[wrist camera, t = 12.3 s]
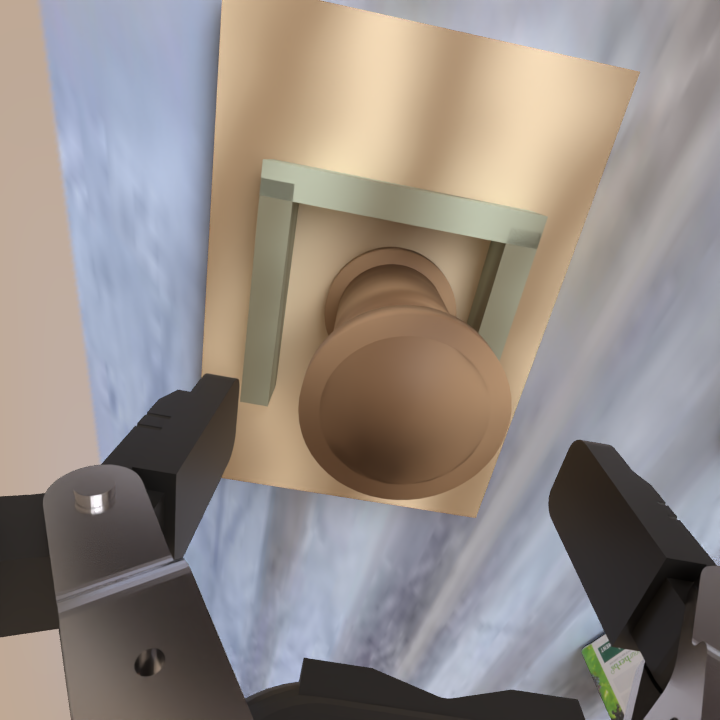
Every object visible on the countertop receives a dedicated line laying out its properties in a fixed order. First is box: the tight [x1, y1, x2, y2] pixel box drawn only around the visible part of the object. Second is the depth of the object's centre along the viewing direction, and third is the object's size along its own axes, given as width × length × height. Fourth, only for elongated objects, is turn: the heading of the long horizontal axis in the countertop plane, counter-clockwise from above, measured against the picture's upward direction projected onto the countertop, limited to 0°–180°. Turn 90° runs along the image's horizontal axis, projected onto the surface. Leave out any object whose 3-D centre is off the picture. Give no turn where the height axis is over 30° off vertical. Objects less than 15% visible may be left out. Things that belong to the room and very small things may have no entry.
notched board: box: [201, 0, 640, 518], centre depth 20 cm, size 15×21×4 cm
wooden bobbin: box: [298, 247, 512, 500], centre depth 16 cm, size 6×6×9 cm
